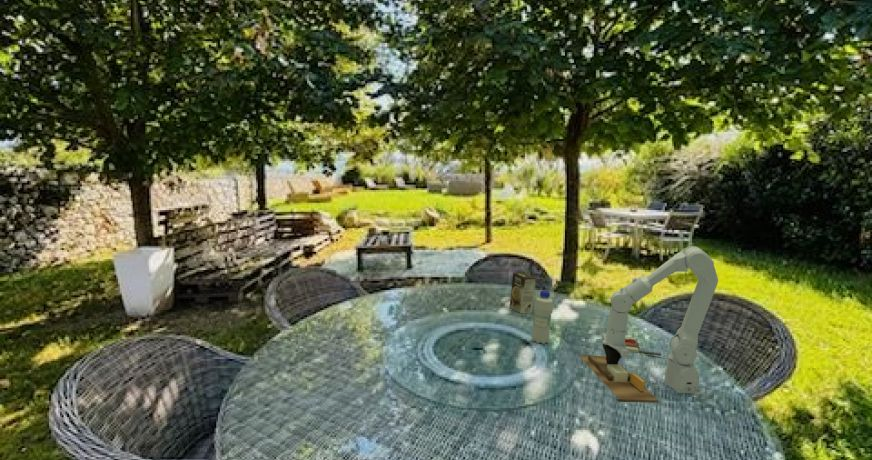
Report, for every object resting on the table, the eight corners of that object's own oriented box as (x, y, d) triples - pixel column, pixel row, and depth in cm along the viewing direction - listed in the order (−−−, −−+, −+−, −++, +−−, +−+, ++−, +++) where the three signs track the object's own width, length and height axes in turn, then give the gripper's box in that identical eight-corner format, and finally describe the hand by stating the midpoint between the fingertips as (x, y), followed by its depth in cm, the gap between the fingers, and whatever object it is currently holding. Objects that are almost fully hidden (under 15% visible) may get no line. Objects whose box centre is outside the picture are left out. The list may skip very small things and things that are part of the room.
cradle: (658, 402, 141) (659, 395, 141) (618, 401, 140) (619, 394, 139) (610, 358, 171) (611, 352, 170) (578, 357, 169) (578, 351, 169)
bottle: (527, 343, 178) (533, 290, 175) (533, 337, 184) (539, 286, 181) (545, 348, 175) (552, 294, 172) (550, 342, 181) (557, 290, 178)
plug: (627, 382, 151) (628, 373, 151) (614, 381, 151) (616, 372, 150) (618, 373, 157) (619, 364, 156) (606, 372, 156) (607, 364, 156)
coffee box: (508, 307, 219) (512, 272, 217) (520, 306, 222) (524, 271, 220) (520, 313, 211) (524, 277, 209) (532, 312, 214) (536, 277, 211)
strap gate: (631, 381, 151) (633, 372, 151) (643, 391, 145) (645, 381, 145) (629, 381, 151) (630, 372, 151) (640, 391, 145) (642, 381, 145)
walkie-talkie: (603, 350, 178) (661, 359, 174) (604, 339, 177) (663, 348, 173) (600, 342, 186) (655, 350, 182) (601, 331, 186) (657, 339, 182)
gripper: (595, 320, 162) (590, 358, 164) (615, 336, 148) (609, 378, 150) (615, 321, 163) (610, 359, 165) (637, 337, 149) (631, 379, 151)
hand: (611, 368), depth 158 cm, fingers closed
